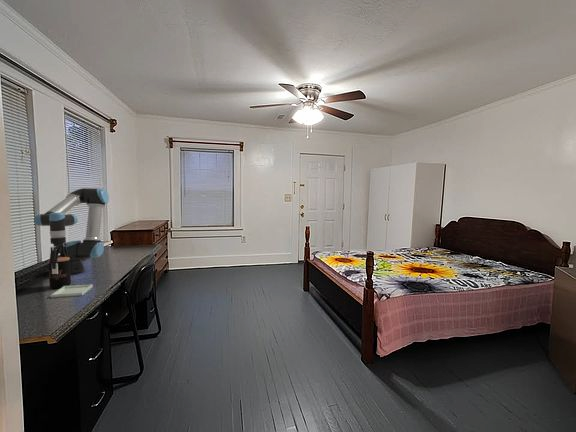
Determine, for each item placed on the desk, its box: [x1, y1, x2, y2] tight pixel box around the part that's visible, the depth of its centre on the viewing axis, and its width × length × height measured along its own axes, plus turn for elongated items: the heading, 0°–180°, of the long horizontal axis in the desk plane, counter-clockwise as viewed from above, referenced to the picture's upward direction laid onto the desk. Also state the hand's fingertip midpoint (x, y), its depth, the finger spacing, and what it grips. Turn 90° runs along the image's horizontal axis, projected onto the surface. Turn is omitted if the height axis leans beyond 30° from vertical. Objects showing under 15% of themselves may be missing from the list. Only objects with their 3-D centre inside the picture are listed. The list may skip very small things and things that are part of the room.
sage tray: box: [50, 284, 94, 299], centre depth 170 cm, size 16×16×2 cm
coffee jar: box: [47, 256, 72, 290], centre depth 179 cm, size 11×11×18 cm
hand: (59, 271), depth 178 cm, fingers closed on coffee jar, 11 cm apart
